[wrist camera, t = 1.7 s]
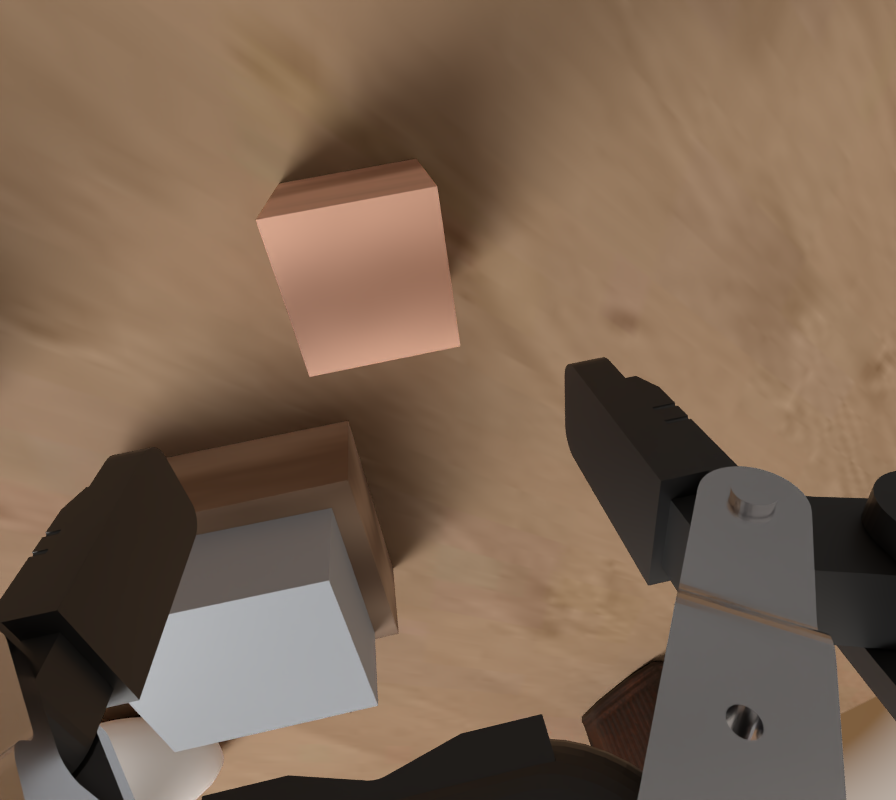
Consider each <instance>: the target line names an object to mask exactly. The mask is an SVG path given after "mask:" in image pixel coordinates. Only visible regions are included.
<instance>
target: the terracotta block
mask: <svg viewBox="0 0 896 800" xmlns="http://www.w3.org/2000/svg"><path fill="white" fill-rule="evenodd" d="M256 222H257V225H258V228H259V231H260V234H261V237H262V240H263V243H264V246H265V248H266V251H267V254H268V257H269V260H270V263H271V266H272V269H273V272H274V275H275V278H276V281H277V283H278V286H279V289H280V292H281V295H282V298H283V301H284V304H285V307H286V310H287V313H288V315H289V318H290V321H291V324H292V327H293V330H294V333H295V336H296V339H297V342H298V345H299V348H300V350H301V353H302V356H303V359H304V362H305V365H306V368H307V371H308V374H309V377H311V376H316V375H321V374H326V373H331V372H336V371H341V370H346V369H351V368H356V367H361V366H365V365H370V364H375V363H380V362H385V361H390V360H395V359H400V358H405V357H410V356H415V355H419V354H424V353H429V352H434V351H439V350H444V349H449V348H454V347H459V346H460V340H459V333H458V326H457V319H456V312H455V306H454V299H453V292H452V285H451V278H450V271H449V264H448V257H447V250H446V243H445V236H444V230H443V223H442V216H441V209H440V202H439V195H438V188H437V185H436V184H435V183H434V181H433V180H432V179H431V177H430V176H429V175H428V173H427V172H426V171H425V169H424V168H423V167H422V166H421V164H420V163H419V162H418V160H417V159H411V160H406V161H400V162H395V163H389V164H384V165H378V166H373V167H367V168H362V169H356V170H351V171H345V172H340V173H334V174H329V175H323V176H318V177H312V178H307V179H301V180H296V181H290V182H285V183H279V184H278V186H277V187H276V189H275V190H274V192H273V194H272V195H271V197H270V198H269V200H268V201H267V203H266V205H265V206H264V208H263V209H262V211H261V212H260V214H259V216H258V217H257V219H256Z"/></svg>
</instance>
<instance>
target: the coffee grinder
mask: <svg viewBox="0 0 896 800" xmlns="http://www.w3.org/2000/svg"><path fill="white" fill-rule="evenodd" d="M663 664H664V663H663V662H652V663H650V664H648V665H647V666H645V667H643V668H642V669H640V670H638V671H637V672H635V673H633V674H632V675H630V676H629V677H628V678H627V679H625V680H624V681H623V682H622V683H620V684H619V685H618V686H616V687H615V688H614V689H613V690H611V691H610V692H609V693H608V694H606V695H605V696H604V697H603V698H601V699H600V700H599V701H598V702H597V703H595V704H594V705H593V706H592V707H591V708H590V709H589V710H588V711H587V712H586V713H585V714H584V715H583V716H582V723H583V725H584V727H585V730H586V733H587V736H588V739H589V742H590V745H591V746H592V747H595V748H598V749H601V750H604V751H607V752H609V753H611V754H613V755H615V756H617V757H619V758H621V759H623V760H625V761H627V762H629V763H631V764H632V765H634V766H636V767H637V768H639V769H640V770H642V771H643V768H644V763H645V758H646V753H647V747H648V742H649V737H650V732H651V727H652V721H653V716H654V711H655V706H656V700H657V695H658V690H659V685H660V680H661V674H662V669H663Z"/></svg>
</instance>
